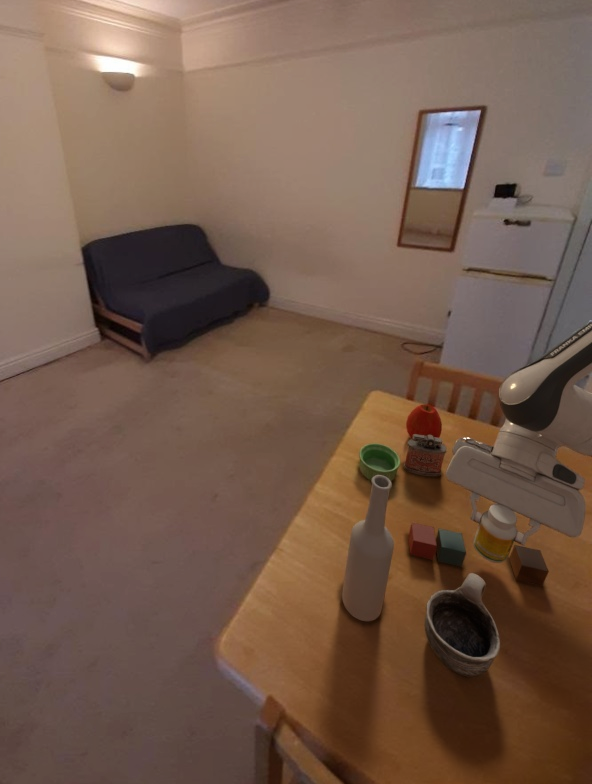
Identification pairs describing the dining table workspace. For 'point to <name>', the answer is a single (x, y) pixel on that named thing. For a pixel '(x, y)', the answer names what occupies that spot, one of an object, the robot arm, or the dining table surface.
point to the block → (450, 547)
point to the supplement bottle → (496, 533)
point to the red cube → (422, 541)
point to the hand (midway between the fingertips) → (496, 532)
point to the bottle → (369, 557)
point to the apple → (424, 421)
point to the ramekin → (378, 461)
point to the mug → (462, 628)
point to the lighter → (425, 455)
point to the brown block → (528, 565)
